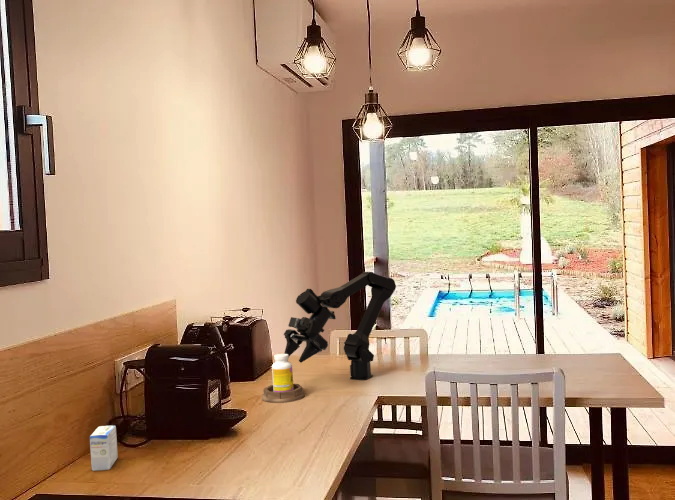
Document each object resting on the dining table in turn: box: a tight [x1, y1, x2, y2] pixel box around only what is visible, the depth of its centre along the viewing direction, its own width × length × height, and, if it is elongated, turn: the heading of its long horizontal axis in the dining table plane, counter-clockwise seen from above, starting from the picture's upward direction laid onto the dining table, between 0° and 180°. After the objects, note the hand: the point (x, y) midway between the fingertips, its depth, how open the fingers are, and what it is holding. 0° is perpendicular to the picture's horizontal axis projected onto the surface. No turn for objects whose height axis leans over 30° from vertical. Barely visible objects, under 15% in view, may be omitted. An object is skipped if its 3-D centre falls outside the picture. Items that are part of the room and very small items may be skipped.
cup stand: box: [261, 383, 305, 404], centre depth 222 cm, size 14×14×3 cm
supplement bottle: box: [271, 353, 294, 392], centre depth 221 cm, size 7×7×13 cm
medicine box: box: [89, 425, 118, 472], centre depth 166 cm, size 8×4×9 cm, turn 5°
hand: (292, 360), depth 224 cm, fingers open, 9 cm apart
